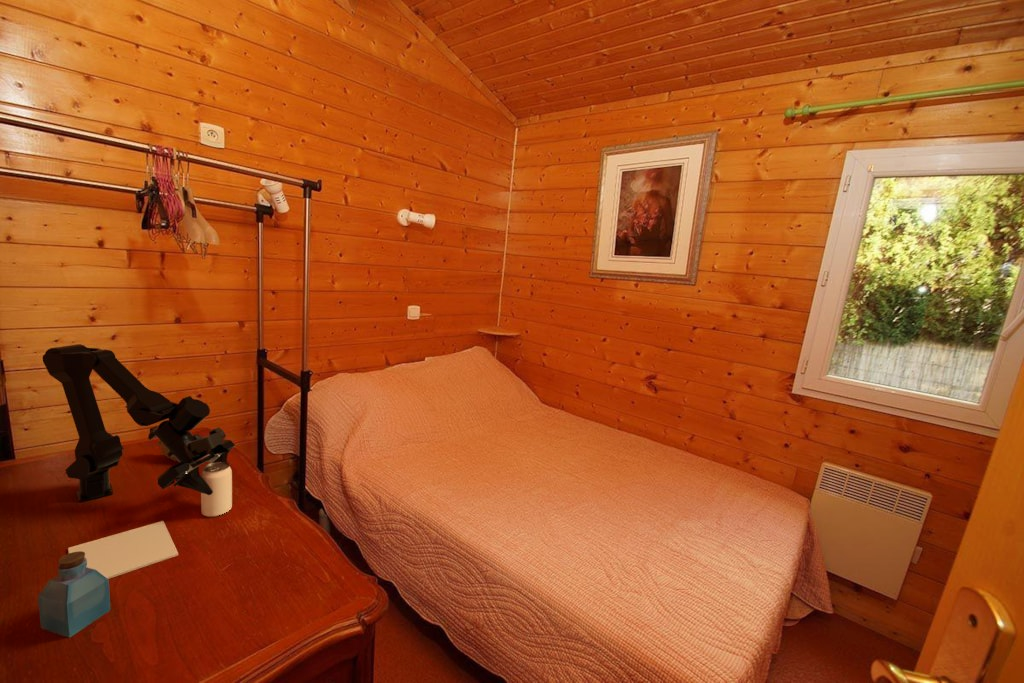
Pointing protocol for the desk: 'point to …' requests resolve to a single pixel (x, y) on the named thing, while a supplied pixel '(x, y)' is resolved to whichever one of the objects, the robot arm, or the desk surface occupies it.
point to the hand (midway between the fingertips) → (221, 487)
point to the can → (217, 489)
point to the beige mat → (128, 550)
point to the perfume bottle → (73, 597)
